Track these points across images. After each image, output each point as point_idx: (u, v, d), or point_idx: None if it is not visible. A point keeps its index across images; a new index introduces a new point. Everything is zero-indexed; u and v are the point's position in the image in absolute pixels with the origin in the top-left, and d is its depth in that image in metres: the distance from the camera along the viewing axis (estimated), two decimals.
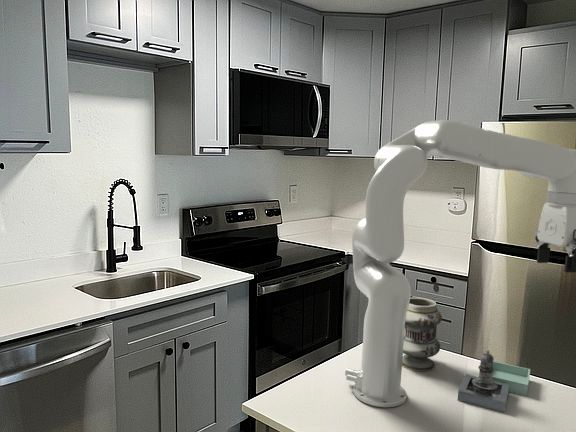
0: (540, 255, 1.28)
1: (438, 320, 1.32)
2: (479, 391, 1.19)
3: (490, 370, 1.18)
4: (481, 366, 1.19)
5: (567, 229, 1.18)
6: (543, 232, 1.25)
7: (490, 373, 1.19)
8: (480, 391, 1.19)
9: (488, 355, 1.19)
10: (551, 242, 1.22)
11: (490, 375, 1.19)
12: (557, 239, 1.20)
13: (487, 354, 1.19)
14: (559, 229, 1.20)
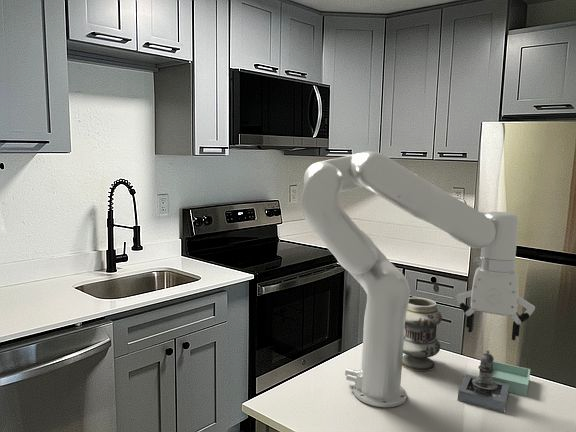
0: (471, 324, 1.19)
1: (438, 320, 1.32)
2: (479, 391, 1.19)
3: (490, 370, 1.18)
4: (481, 366, 1.19)
5: (516, 297, 1.13)
6: (482, 301, 1.16)
7: (490, 373, 1.19)
8: (480, 391, 1.19)
9: (488, 355, 1.19)
10: (495, 312, 1.15)
11: (490, 375, 1.19)
12: (505, 309, 1.14)
13: (487, 354, 1.19)
14: (506, 298, 1.14)
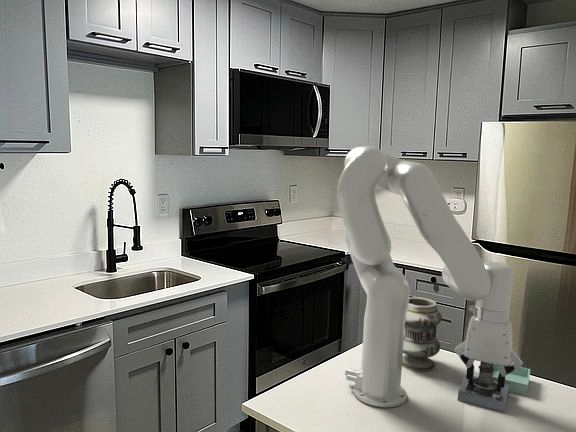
0: (471, 376, 1.20)
1: (438, 320, 1.32)
2: (479, 391, 1.19)
3: (490, 370, 1.18)
4: (481, 366, 1.19)
5: (509, 348, 1.15)
6: (475, 350, 1.18)
7: (490, 373, 1.19)
8: (480, 391, 1.19)
9: None
10: (489, 361, 1.17)
11: (490, 375, 1.19)
12: (498, 359, 1.16)
13: None
14: (500, 349, 1.15)
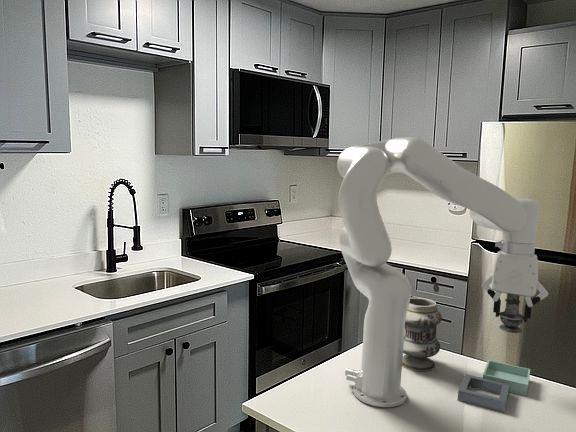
0: (499, 309, 1.26)
1: (438, 320, 1.32)
2: (506, 322, 1.24)
3: (517, 302, 1.23)
4: (508, 298, 1.25)
5: (536, 279, 1.20)
6: (502, 283, 1.23)
7: (517, 305, 1.24)
8: (507, 322, 1.24)
9: None
10: (516, 292, 1.22)
11: (517, 307, 1.24)
12: (525, 289, 1.21)
13: None
14: (526, 279, 1.20)
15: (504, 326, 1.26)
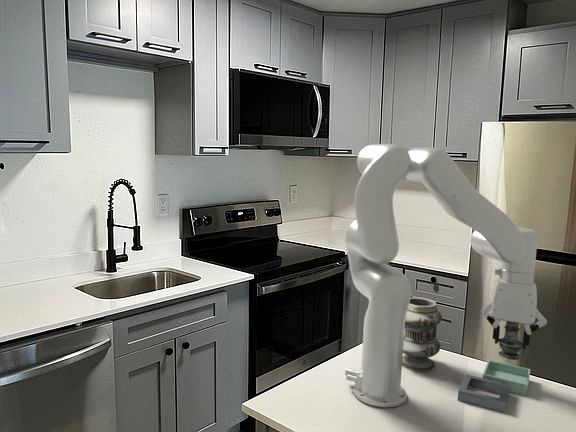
0: (498, 336, 1.28)
1: (438, 320, 1.32)
2: (505, 349, 1.26)
3: (516, 329, 1.25)
4: (507, 325, 1.27)
5: (535, 307, 1.22)
6: (502, 311, 1.25)
7: (516, 332, 1.26)
8: (506, 349, 1.26)
9: None
10: (515, 320, 1.24)
11: (516, 334, 1.26)
12: (524, 318, 1.23)
13: None
14: (526, 308, 1.22)
15: (503, 352, 1.28)
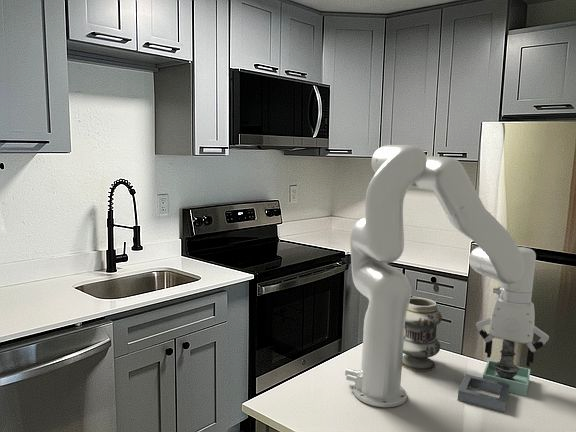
0: (490, 350, 1.29)
1: (438, 320, 1.32)
2: (501, 374, 1.27)
3: (512, 354, 1.26)
4: (503, 350, 1.27)
5: (532, 327, 1.22)
6: (500, 329, 1.26)
7: (512, 357, 1.27)
8: (502, 374, 1.27)
9: None
10: (513, 339, 1.24)
11: (512, 359, 1.27)
12: (521, 337, 1.23)
13: None
14: (523, 327, 1.23)
15: (499, 376, 1.29)
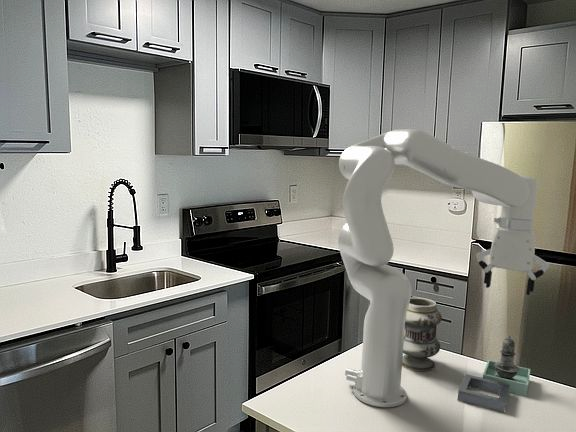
0: (489, 280, 1.29)
1: (438, 320, 1.32)
2: (501, 374, 1.27)
3: (512, 354, 1.26)
4: (503, 350, 1.27)
5: (532, 254, 1.23)
6: (500, 258, 1.26)
7: (512, 357, 1.27)
8: (502, 374, 1.27)
9: (510, 340, 1.27)
10: (512, 268, 1.25)
11: (512, 359, 1.27)
12: (521, 265, 1.24)
13: (509, 339, 1.27)
14: (523, 255, 1.23)
15: (499, 377, 1.29)
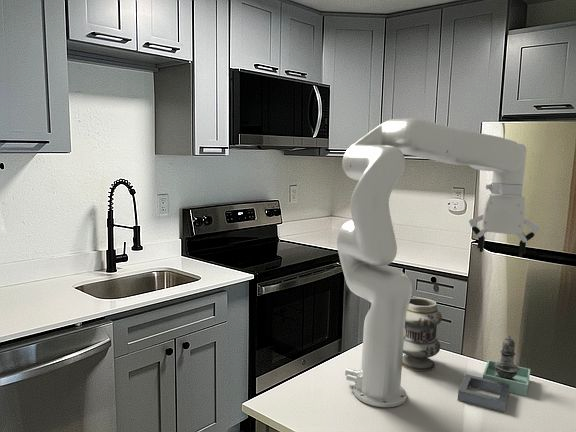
0: (482, 244, 1.34)
1: (438, 320, 1.32)
2: (501, 374, 1.27)
3: (512, 354, 1.26)
4: (503, 350, 1.27)
5: (523, 218, 1.28)
6: (492, 223, 1.31)
7: (512, 357, 1.26)
8: (502, 374, 1.27)
9: (510, 340, 1.27)
10: (504, 231, 1.30)
11: (512, 359, 1.27)
12: (513, 228, 1.29)
13: (509, 339, 1.27)
14: (514, 218, 1.28)
15: (499, 377, 1.29)
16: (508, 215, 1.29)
